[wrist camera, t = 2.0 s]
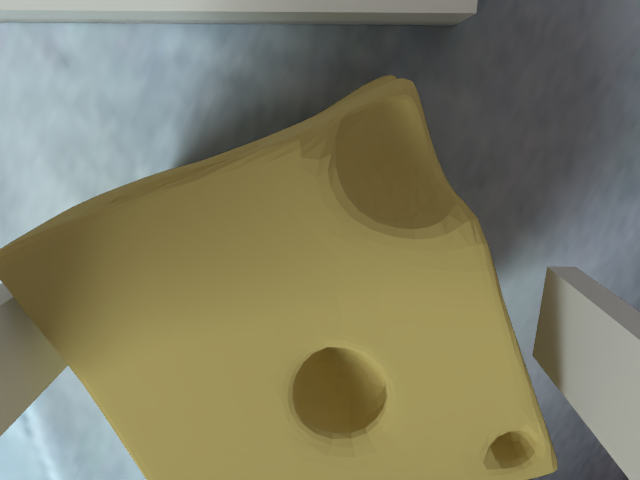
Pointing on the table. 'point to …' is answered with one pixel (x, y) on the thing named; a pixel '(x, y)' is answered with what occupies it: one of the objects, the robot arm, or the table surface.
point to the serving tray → (241, 11)
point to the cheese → (292, 310)
